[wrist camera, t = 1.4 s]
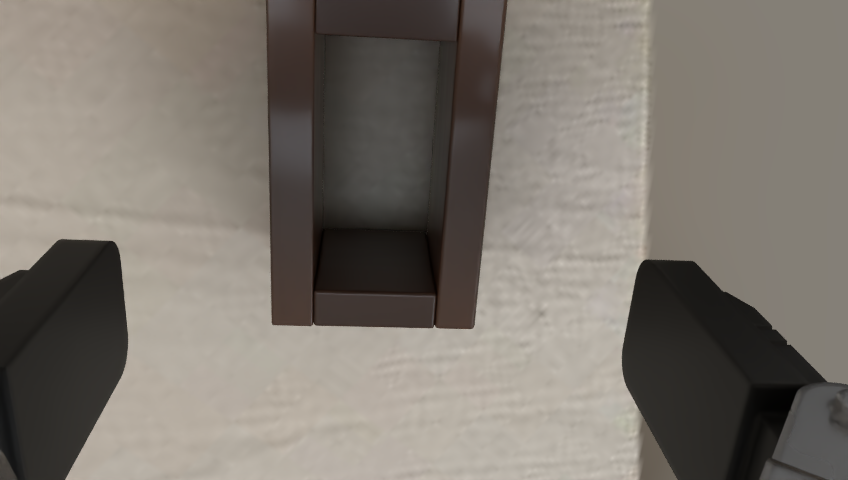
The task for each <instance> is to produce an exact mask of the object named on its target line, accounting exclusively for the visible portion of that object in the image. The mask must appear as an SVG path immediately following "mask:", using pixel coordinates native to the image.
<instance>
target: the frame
mask: <svg viewBox="0 0 848 480" xmlns="http://www.w3.org/2000/svg"><path fill="white" fill-rule="evenodd" d="M507 1H508V0H266V22H267V79H268V135H269V192H270V248H271V305H272V324H273V325H293V326H312V325H313V322H314V324H315V325H318V326H361V327H404V328H433V327H434V325H435V326H436V328H449V329H472V328H473V327H474V325H475V315H476V305H477V295H478V286H479V276H480V266H481V256H482V246H483V237H484V227H485V217H486V207H487V197H488V188H489V178H490V168H491V158H492V148H493V139H494V129H495V119H496V109H497V99H498V90H499V80H500V70H501V60H502V50H503V41H504V31H505V21H506V11H507ZM325 35H339V36H357V37H375V38H393V39H412V40H430V41H440V51H439V65H438V80H437V94H436V108H435V122H434V137H433V151H432V165H431V179H430V194H429V208H428V222H427V235H426V232H418V231H389V230H359V229H330V228H326V229H323V163H324V78H325Z"/></svg>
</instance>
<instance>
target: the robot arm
mask: <svg viewBox="0 0 848 480" xmlns="http://www.w3.org/2000/svg"><path fill="white" fill-rule="evenodd" d="M127 351H128V331H127V321H126V311H125V300H124V290H123V280H122V270H121V260H120V254H119V250H118V247H117V245H116V244H115V242H113V241H97V240H67V239H61V240H58V241H57V242H56V243H55V244H54V245H53V246H52V247H51V248H50V249H49V250H48V251H47V252H46V253H45V254H44V255H43V256H42V257H41V258H40V259H39V260H38V261H37V262H36V263H35V264H34V265H33V266H32V267H31V269H30V270H19V271H17V272H15V273H13V274H11V275H9V276H7V277H5V278H3V279H1V280H0V480H65V479H66V477H67V475H68V473H69V471H70V469H71V468H72V466H73V464H74V462H75V460H76V459H77V457H78V455H79V453H80V451H81V449H82V448H83V446H84V444H85V442H86V440H87V438H88V437H89V435H90V433H91V431H92V429H93V427H94V426H95V424H96V422H97V420H98V418H99V416H100V415H101V413H102V411H103V409H104V407H105V406H106V404H107V402H108V400H109V398H110V396H111V395H112V393H113V391H114V389H115V387H116V385H117V384H118V382H119V380H120V378H121V376H122V374H123V371H124V368H125V364H126V359H127ZM622 369H623V376H624V380H625V383H626V386H627V388H628V390H629V392H630V394H631V395H632V397H633V399H634V401H635V403H636V405H637V406H638V408H639V410H640V412H641V414H642V416H643V417H644V419H645V421H646V422H647V425H648V426H649V428H650V430H651V432H652V434H653V435H654V437H655V439H656V441H657V443H658V445H659V446H660V448H661V450H662V452H663V454H664V456H665V458H666V459H667V461H668V463H669V465H670V467H671V468H672V470H673V472H674V474H675V476H676V478H677V479H678V480H848V385H847V384H841V383H831V382H827V381H826V380H825V379H824V378H823V377H822V376H821V375H820V374H819V373H818V372H817V371H816V370H815V369H814V368H813V367H812V366H811V365H810V364H809V363H808V362H807V361H806V360H805V359H804V358H803V357H802V356H801V355H800V354H799V353H798V352H797V351H796V350H795V349H794V348H793V347H792V346H791V345H787V341H786V340H785V339H784V338H783V337H782V336H781V335H780V334H779V332H778V331H777V330H772V326H771V324H770V323H769V322H768V321H767V320H766V319H765V318H764V317H763V316H762V315H761V314H760V313H759V312H758V311H757V310H756V309H755V308H753V307H752V306H750V305H748V304H746V303H745V302H743V301H741V300H739V299H737V298H736V297H734V296H732V295H730V294H729V293H727V292H723V291H721V289H720V288H719V287H718V286H717V285H716V284H715V283H714V282H713V281H712V280H711V279H710V278H709V276H707V274H706V273H705V272H704V271H703V270H702V269H701V268H700V267H699V266H698V265H697V264H696V263H695V262H693V261H673V260H671V261H670V260H644V261H643V262H642V263H641V265H640V267H639V269H638V272H637V275H636V280H635V285H634V290H633V296H632V301H631V306H630V312H629V317H628V322H627V328H626V333H625V338H624V343H623V350H622Z"/></svg>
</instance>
